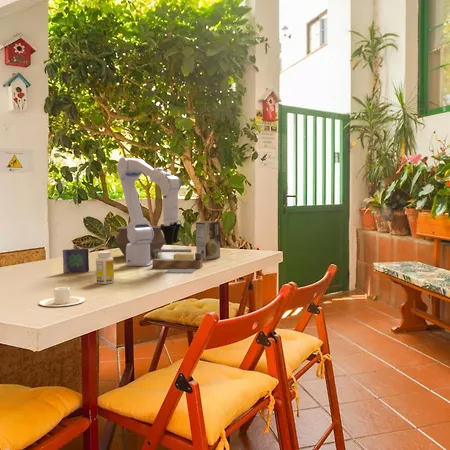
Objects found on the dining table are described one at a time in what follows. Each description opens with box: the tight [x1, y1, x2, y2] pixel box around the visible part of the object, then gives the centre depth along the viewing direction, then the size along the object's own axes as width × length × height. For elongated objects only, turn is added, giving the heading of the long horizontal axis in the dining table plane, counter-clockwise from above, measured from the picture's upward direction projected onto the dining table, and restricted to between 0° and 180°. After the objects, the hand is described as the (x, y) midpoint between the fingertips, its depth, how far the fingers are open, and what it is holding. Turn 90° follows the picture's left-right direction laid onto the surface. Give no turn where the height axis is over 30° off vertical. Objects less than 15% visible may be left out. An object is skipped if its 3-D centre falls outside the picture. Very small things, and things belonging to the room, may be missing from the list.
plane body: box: [151, 252, 204, 269], centre depth 195 cm, size 19×4×6 cm, turn 82°
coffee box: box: [195, 220, 221, 260], centre depth 221 cm, size 9×6×16 cm
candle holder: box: [38, 286, 86, 308], centre depth 135 cm, size 12×12×4 cm
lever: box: [153, 248, 192, 259], centre depth 195 cm, size 15×2×4 cm, turn 82°
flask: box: [62, 243, 90, 274], centre depth 186 cm, size 9×3×11 cm, turn 109°
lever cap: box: [172, 252, 195, 261], centre depth 194 cm, size 7×5×2 cm
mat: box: [164, 268, 197, 274], centre depth 185 cm, size 10×8×1 cm
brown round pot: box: [115, 219, 166, 259], centre depth 228 cm, size 24×24×16 cm
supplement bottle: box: [95, 250, 115, 285], centre depth 163 cm, size 6×6×10 cm
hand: (171, 243), depth 190 cm, fingers open, 7 cm apart
